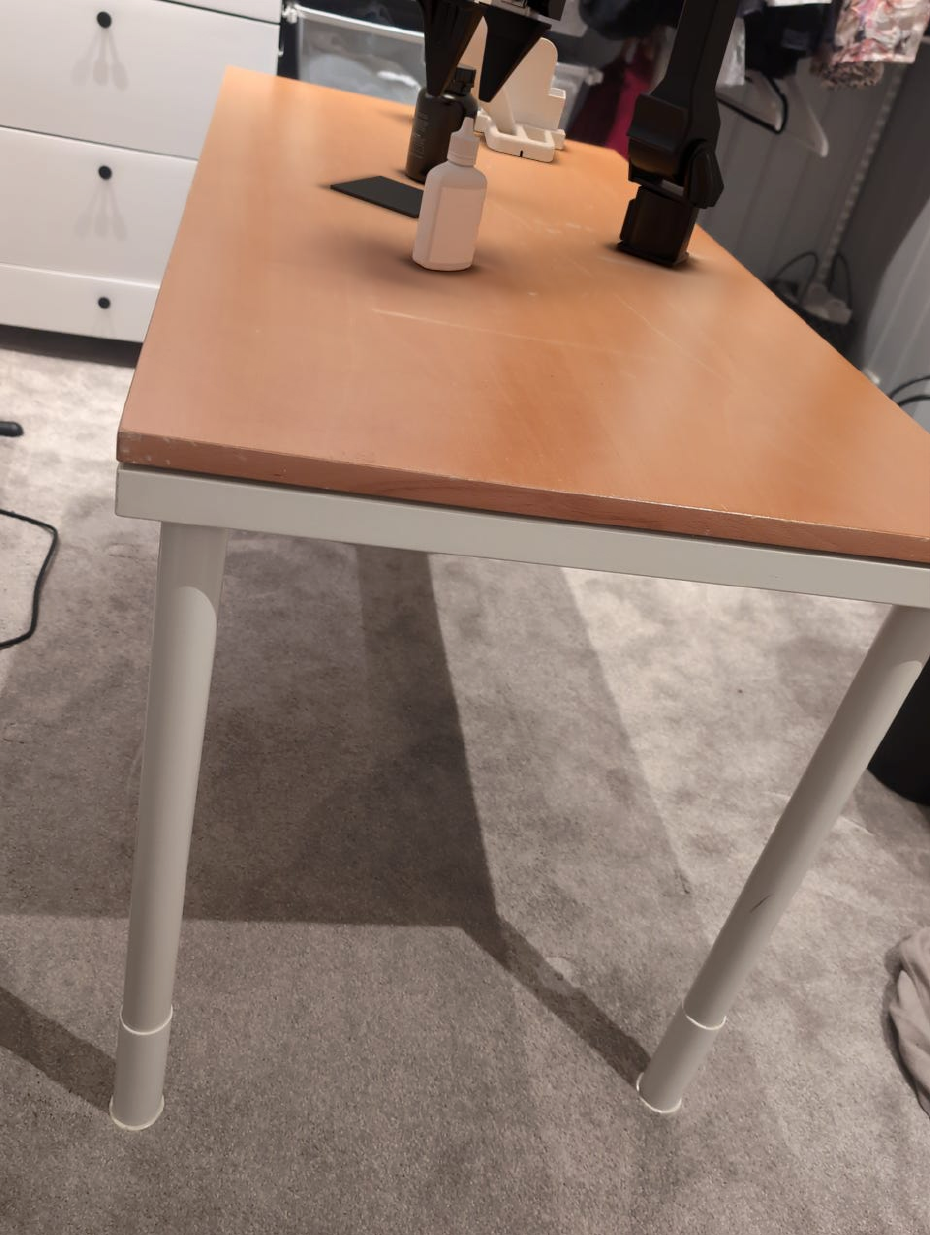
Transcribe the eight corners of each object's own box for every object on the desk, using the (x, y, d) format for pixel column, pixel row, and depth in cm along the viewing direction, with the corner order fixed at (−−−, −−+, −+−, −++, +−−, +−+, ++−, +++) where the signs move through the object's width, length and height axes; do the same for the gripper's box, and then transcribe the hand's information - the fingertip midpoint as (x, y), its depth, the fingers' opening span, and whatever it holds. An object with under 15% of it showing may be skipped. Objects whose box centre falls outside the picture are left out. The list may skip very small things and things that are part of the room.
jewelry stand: (559, 145, 152) (606, -51, 138) (569, 167, 140) (622, -46, 126) (393, 107, 149) (424, -97, 135) (388, 127, 136) (422, -96, 122)
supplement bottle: (462, 193, 114) (485, 75, 107) (402, 179, 113) (421, 60, 107) (463, 180, 120) (485, 66, 113) (406, 167, 119) (425, 52, 112)
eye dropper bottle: (476, 277, 89) (507, 130, 83) (414, 268, 88) (440, 117, 81) (467, 261, 93) (496, 119, 86) (406, 252, 91) (431, 106, 85)
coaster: (459, 205, 109) (460, 203, 109) (414, 217, 101) (414, 214, 101) (380, 178, 112) (380, 175, 112) (329, 188, 104) (330, 185, 104)
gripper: (476, -126, 86) (430, 76, 94) (358, -188, 71) (315, 60, 79) (594, -92, 83) (536, 114, 91) (497, -149, 68) (438, 105, 76)
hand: (459, 98), depth 84 cm, fingers open, 9 cm apart
